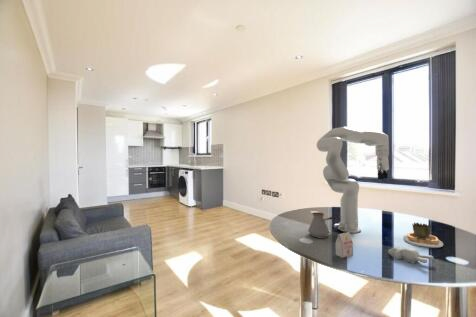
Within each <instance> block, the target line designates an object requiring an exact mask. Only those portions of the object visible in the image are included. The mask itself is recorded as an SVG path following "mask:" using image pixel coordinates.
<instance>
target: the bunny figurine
mask: <svg viewBox="0 0 476 317" xmlns="http://www.w3.org/2000/svg"><path fill="white" fill-rule="evenodd" d="M387 252H388V254H390V256H391V257H392V258H395V259H399V260H403V261H404V262H406V263H410V264H414V263H416V262H417V263H418V262H420V263H423V264H427V263H428V260H435V258H434V256H433V255H429V254H420V252H419V251H418V249H416V248H412V247H400V246H396V247H393V248H390V249H387Z"/></svg>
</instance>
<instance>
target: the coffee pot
mask: <svg viewBox="0 0 476 317" xmlns="http://www.w3.org/2000/svg"><path fill="white" fill-rule="evenodd" d="M312 215H313V218H312V220H311V223H310V224H309V227H308V230H307V231H308V234H310V236H311V237H313V236H314V237H313V238H315V237H317V238H316V239H325V238H326V237H328V235H329V234H330V230H329V228H328V226H327V224H326V221H330V220H335V219H341V214H339V215H333V216H331V217H328V218H327V217H325V218H324V216H325V213H323V212H316V211H315V212H312ZM342 219H343V217H342Z"/></svg>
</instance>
